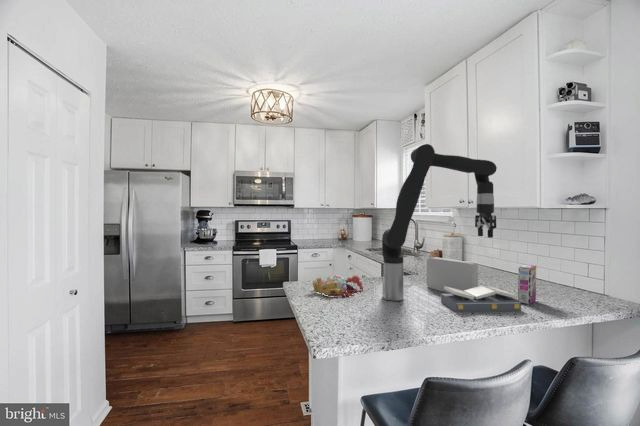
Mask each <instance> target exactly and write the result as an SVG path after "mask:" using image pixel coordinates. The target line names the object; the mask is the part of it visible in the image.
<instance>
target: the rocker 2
mask: <svg viewBox="0 0 640 426" xmlns="http://www.w3.org/2000/svg"><path fill="white" fill-rule="evenodd" d="M464 292H466V293H468V294H470V295H472V296H474V298H475V299H480V298H484V297H487V296H491V295H494V294H496V293H495V291H493V290H491V289H488V288H486V287H485V286H483V285H478V287H475V288H471V289H468V290H464Z"/></svg>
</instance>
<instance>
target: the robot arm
mask: <svg viewBox="0 0 640 426" xmlns="http://www.w3.org/2000/svg"><path fill="white" fill-rule="evenodd" d="M410 159H411V162H412V163H413V165H412V168H411V170H410V172H409V174H408V176H407V177H406V178H405V181H404V182H403V184H402V186H401V188H400V191H399V194H398V196H397V199H396V200H397V201H396V206H395V215H394V219H393V221H392V224H391V227H390V228H387V229H385V231H384V232H383V233H382V237H381V241H382V242H381V243H382V246H381V247H382V257H383V276H382V298H383V299H384V300H385V301H392V302H395V301H396V302H398V301H403V300H404V256H403V253H402V247H403V246H404V244H405V242H406V239H407V236H408V235H407V234H408V230H409V226H410V223H411V219H412V218H413V215H414V212H415V210H416V207H417V205H418V202H419V199H420V197H421V192H422V189H423V187H424V184H425V183H424V182H425V180H426V177H427V175H428V172H429V170H430V167H437V168H444V169H447V170H448V169H449V170H453V171H458V172H461V173H466V174H471V173H473V174H474V178H475V183H476V213H477V214H476V215H475V216H474V227H475V228H476V229H477V236H478V237H483V236H484V226H486V228H487V238H489V239H491V238H494V229H497V215H495V214H494V213H495V195H494V183H493V182H492V181H490V176H492V175H494V174H495V173H496V172H497V168H498V167H497V165H496V164H495V162H493V161H491V160H487V159H477V158H476V159H475V158H470V157H466V156H460V155H454V154H453V155H452V154H449V155H448V154H440V153H436V150H435V148H434V147H433V146H432V145H431V144H429V143H423V144H421V145H419V146H417V147H416V148H414V149H413V150H412V151H411V153H410Z"/></svg>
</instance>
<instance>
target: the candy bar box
mask: <svg viewBox="0 0 640 426" xmlns="http://www.w3.org/2000/svg"><path fill="white" fill-rule="evenodd" d="M517 288H518V291H517V292H518V293H517V294H518V295H517V296H518V298H517V300H519V301H521V305H527V306H530V305H532V304H533V303H534V302H535V301H536V299H537V295H536V293H537V265H532V264H524V265H521V266H518V287H517Z"/></svg>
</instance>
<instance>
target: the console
mask: <svg viewBox="0 0 640 426" xmlns="http://www.w3.org/2000/svg"><path fill="white" fill-rule="evenodd" d="M440 303H441V304H442V305H444V306H446V307H447V308H448V309H450V310H451V311H453V312H455V313H463V312H465V313H467V312H469V313H470V312H477V313H478V312H521V311H522V304H521V301H519V300H518V298H517V299H516V298H512V297H508V296H504V295H500V294H497V293H496V294H494V295H491V296H487V297H484V298H480V299H475V298H474V299H470V298H466V297H462V296H458V295H455V294H452V293H440Z"/></svg>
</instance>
